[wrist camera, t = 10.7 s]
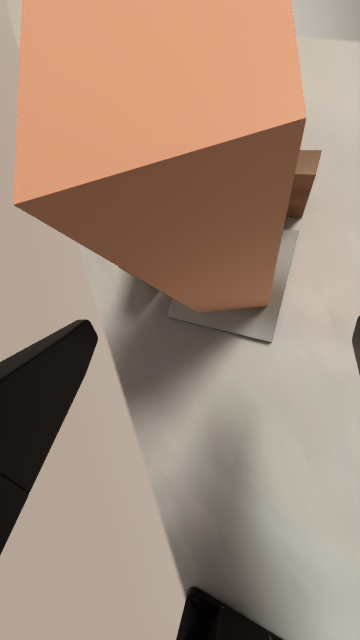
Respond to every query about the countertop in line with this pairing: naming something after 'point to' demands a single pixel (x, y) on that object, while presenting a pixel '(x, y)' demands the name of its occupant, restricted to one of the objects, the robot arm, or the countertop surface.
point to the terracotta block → (163, 137)
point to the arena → (265, 318)
